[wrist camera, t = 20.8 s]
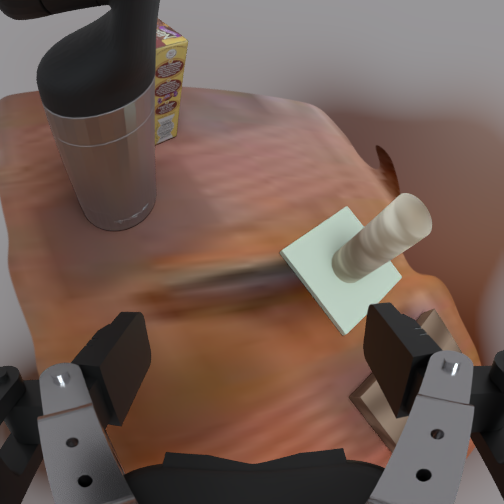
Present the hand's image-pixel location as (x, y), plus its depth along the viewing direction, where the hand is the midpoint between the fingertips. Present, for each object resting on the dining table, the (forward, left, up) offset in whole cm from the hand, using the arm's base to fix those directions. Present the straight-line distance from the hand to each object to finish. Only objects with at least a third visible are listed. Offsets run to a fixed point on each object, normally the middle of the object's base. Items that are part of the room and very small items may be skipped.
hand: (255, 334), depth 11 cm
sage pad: (+1, +20, -21) cm, 29 cm away
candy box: (-30, +11, -22) cm, 39 cm away
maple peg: (+1, +20, -21) cm, 29 cm away
